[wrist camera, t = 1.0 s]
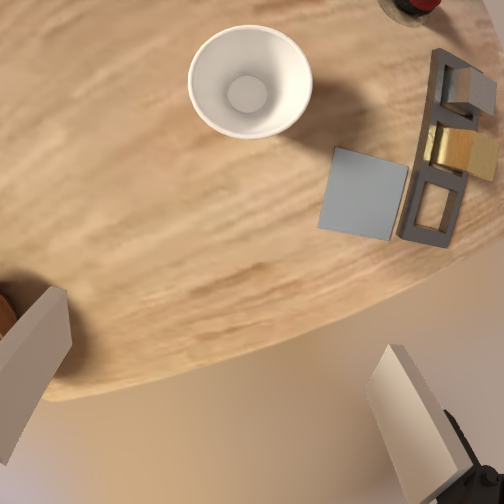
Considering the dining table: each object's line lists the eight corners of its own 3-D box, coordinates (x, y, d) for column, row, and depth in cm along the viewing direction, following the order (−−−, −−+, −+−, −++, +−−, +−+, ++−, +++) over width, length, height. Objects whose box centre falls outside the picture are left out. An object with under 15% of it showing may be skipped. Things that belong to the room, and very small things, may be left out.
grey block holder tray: (431, 50, 30) (440, 47, 28) (474, 73, 31) (483, 72, 29) (395, 234, 39) (402, 239, 37) (439, 243, 40) (446, 248, 38)
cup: (243, 38, 30) (244, 3, 20) (309, 92, 33) (337, 78, 22) (185, 100, 32) (162, 89, 22) (251, 154, 35) (257, 165, 25)
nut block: (432, 126, 34) (474, 130, 26) (457, 137, 34) (500, 144, 26) (425, 159, 36) (466, 170, 27) (450, 168, 36) (492, 182, 28)
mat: (335, 146, 35) (336, 147, 35) (406, 166, 36) (408, 167, 36) (317, 227, 39) (318, 228, 38) (387, 239, 40) (388, 240, 39)
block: (439, 72, 31) (471, 67, 25) (464, 85, 32) (496, 83, 25) (435, 103, 33) (467, 102, 26) (460, 114, 33) (493, 116, 27)
